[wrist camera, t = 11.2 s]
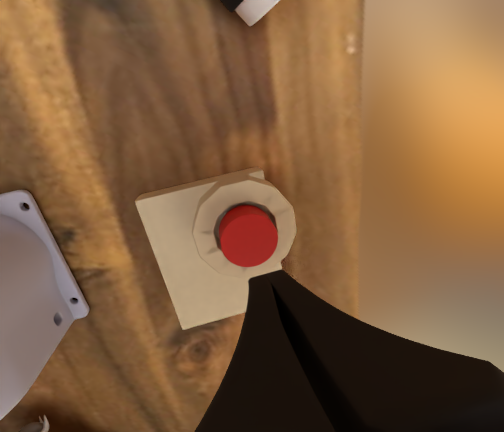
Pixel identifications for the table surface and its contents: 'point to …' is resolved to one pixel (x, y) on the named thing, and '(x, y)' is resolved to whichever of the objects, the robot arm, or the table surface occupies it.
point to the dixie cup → (250, 8)
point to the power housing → (210, 241)
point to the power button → (247, 236)
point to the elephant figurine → (37, 426)
